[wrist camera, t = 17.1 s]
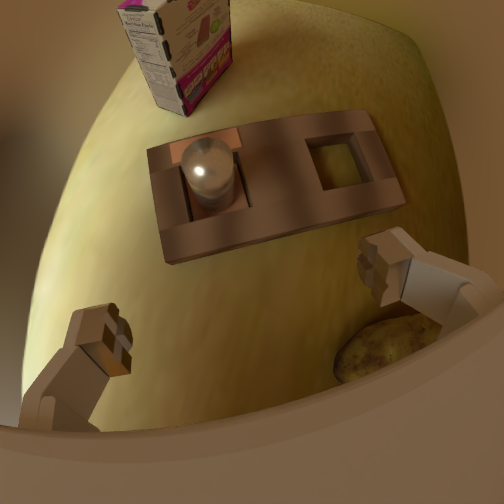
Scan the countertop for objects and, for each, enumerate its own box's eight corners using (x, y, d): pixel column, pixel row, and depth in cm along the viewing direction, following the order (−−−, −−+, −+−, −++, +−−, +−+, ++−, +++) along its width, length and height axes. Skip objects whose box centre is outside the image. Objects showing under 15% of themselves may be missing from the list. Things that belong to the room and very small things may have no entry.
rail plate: (171, 265, 28) (164, 262, 25) (152, 159, 29) (146, 148, 27) (395, 209, 30) (407, 202, 27) (358, 120, 31) (366, 108, 29)
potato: (338, 301, 28) (372, 302, 20) (435, 314, 28) (480, 315, 20) (323, 380, 27) (350, 407, 19) (421, 383, 27) (463, 400, 19)
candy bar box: (202, 53, 32) (189, -43, 16) (233, 62, 32) (232, -39, 16) (154, 108, 31) (112, 6, 14) (187, 120, 30) (157, 8, 14)
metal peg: (201, 217, 28) (187, 190, 21) (192, 182, 29) (176, 145, 21) (240, 206, 29) (239, 174, 21) (229, 171, 29) (225, 131, 21)
